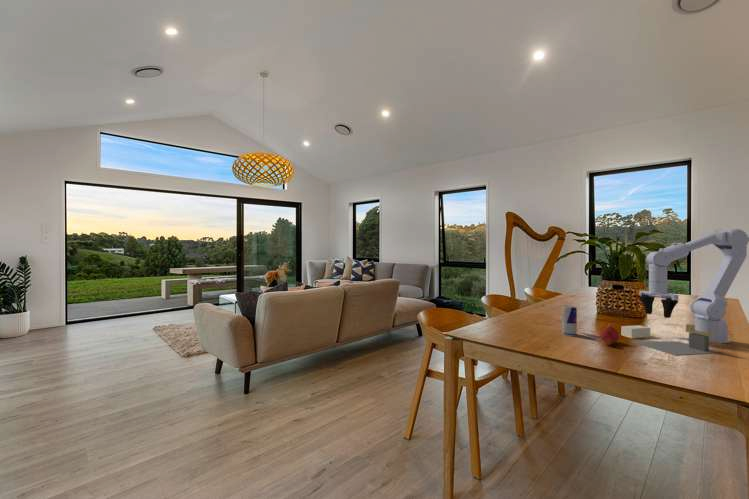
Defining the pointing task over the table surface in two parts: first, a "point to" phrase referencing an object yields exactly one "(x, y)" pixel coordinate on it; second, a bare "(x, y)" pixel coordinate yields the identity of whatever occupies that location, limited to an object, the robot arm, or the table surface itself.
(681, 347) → the slate board
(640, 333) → the cover block
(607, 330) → the onion
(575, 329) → the energy drink
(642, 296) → the robot arm
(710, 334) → the brass bolt
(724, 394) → the table surface
